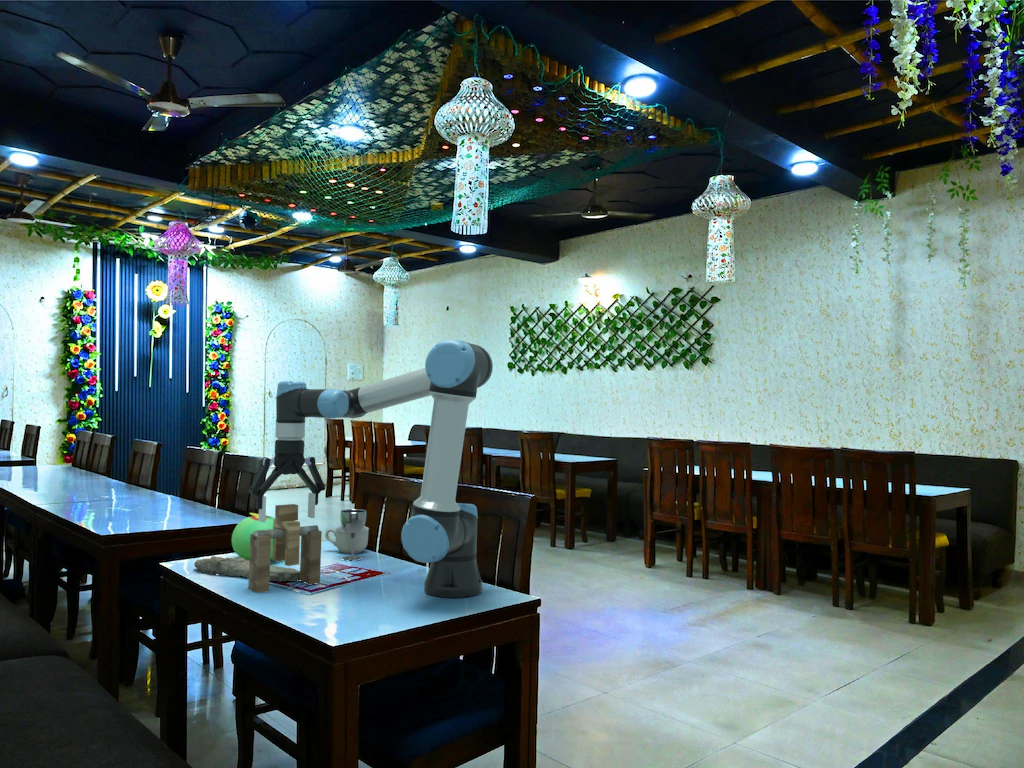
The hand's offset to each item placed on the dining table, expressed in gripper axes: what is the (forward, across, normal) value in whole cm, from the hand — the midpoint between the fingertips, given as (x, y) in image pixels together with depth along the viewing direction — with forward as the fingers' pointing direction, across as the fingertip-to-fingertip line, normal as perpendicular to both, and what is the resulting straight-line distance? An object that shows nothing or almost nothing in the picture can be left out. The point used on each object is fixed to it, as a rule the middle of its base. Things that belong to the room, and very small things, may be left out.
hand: (287, 519), depth 190 cm
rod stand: (+17, 0, 0) cm, 17 cm away
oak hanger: (+11, 0, 0) cm, 11 cm away
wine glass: (+18, -31, -21) cm, 41 cm away
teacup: (+18, -35, -32) cm, 51 cm away
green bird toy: (+18, -7, -34) cm, 39 cm away
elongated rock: (+18, +3, -18) cm, 26 cm away
